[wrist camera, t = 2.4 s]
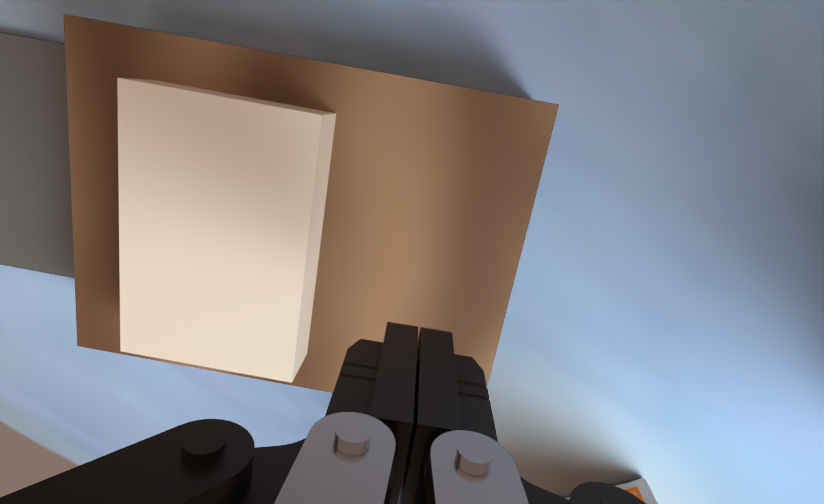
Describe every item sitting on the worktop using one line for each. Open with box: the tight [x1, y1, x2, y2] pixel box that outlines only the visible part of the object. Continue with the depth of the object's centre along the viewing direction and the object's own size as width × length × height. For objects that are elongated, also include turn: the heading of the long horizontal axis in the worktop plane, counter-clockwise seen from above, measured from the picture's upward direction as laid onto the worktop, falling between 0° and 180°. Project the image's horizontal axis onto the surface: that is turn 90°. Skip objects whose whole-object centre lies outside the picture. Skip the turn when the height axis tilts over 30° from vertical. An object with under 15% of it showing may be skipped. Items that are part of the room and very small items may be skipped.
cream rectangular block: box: [117, 78, 336, 383], centre depth 16 cm, size 6×9×2 cm, turn 170°
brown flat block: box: [64, 14, 559, 393], centre depth 19 cm, size 16×12×4 cm
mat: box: [0, 32, 75, 278], centre depth 21 cm, size 8×10×1 cm
